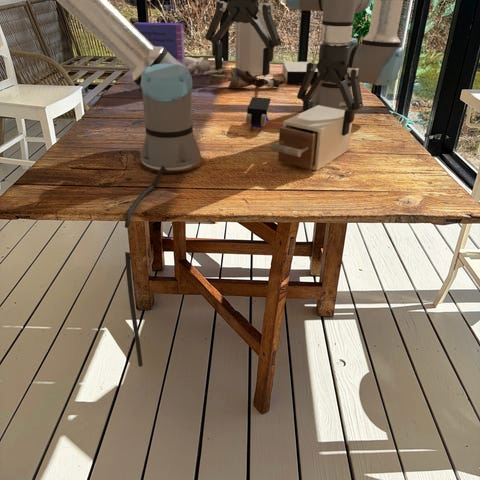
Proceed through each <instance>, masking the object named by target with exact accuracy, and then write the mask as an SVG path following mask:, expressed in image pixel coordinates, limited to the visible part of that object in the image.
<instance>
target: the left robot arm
mask: <svg viewBox="0 0 480 480" xmlns="http://www.w3.org/2000/svg"><path fill="white" fill-rule="evenodd" d="M56 1H57V3H58V4H60V5H61V7H63V8H64V9H65V10H66V11H67V12H68V13H69V14H70V15H71V16H72V17H73V18H74V19H76V21H78V22H79V23H80V24H81V25H82V26H83V27H84V28H85V29H86V30H87V31H88V32H89V33H90V34H92V36H93V37H95V38H96V39H97V40H98V41H99V42H100V43H101V45H103V46H104V47H105V48H106V49H107V50H108V51H109V52H111V54H113V56H115V58H117V59H118V60H119V61H120V62H121V63H122V64H123V65H124V66H125V67H126V68H128V70H129V71H131V73H132V75H131V76H132V81H133V82H134V83H135V84H136V85H137V86H138V87H139V89H140V88H141V89H142V90H141V92H142V103H143V115H144V125H145V126H144V127H145V138H144V142H143V146H142V150H141V154H140V162H141V166H142V168H144V169H145V170H146V171H149V172H151V173H156V176H155V177H154V179H153V182H152V183H151V184H150V185H149V186H148V187H147V188H146V189H145V190H144V191H142V192H141V193H140V194H139V196H138V197H136V198H135V200H134V201H133V203H132V204H131V206H130V207H129V209H128V210H127V212H126V215H125V220H124V228H125V229H128V228H130V226H131V219H132V215H133V213H134V212H135V210H136V208H137V207H138V205H139V204H140V202H141V201H142V200H143V199H144V198H145V197H146V196H147V195H149V194H150V193H151V192H152V191H153V190H154V189H156V186H157V185H158V183H159V181H160V179H161V178H162V175H164V174H165V175H169V174H170V175H172V174H173V175H175V174H182V173H187V172H190V171H193V170H195V169H197V168H198V167H199V166H201V163H202V155H201V151H200V149H199V146H198V143H197V141H196V137H195V135H194V130H193V129H194V126H193V101H192V100H193V99H192V98H193V97H192V95H193V85H194V84H193V78H192V77H193V76H192V73H191V72H189V70H188V68H187V67H186V66H185V65H184V64H183V63H182V62H181V61H179V60H177V59H175V58H174V57H173V56H172V55H171V54H170V53H169V52H168V51H167V50H166V49H165V48H163V47H156V46H153V45H152V44H151V43H150V42H149V41H148V40H147V39H146V38H145V37H144V36H143V35H142V34H141V33H140V32H139V31H138V30H137V29H136V28H135V27H134V24H132V22H130V20H128V19H127V18H126V17H125V16H124V15H123V14H122V13H121V12H120V11H119V10H118V9H117V8H116V7H115V6H114V5H113V4H112V3H111V2H110V1H109V0H56ZM259 3H260V2H259V0H227V2H225V1H224V0H220V1H219V0H218V1H217V2H216V3H215V12H214V14H213V16H212V19H211V21H210V24H209V27H208V29H207V31H206V34H205V36H204V39H205V40H206V41H209V42H211V53H212V54H211V55H212V56H213V57H214V65H215V70H214V71H217V70H219V69H222V70H223V42H221V39H222V38H223V37H224V36H225V34H226V33H227V32H228V30H229V29H230V27H231V26H233V24H234V23H235V24H236V23H239V22H242V23H250V24H251V25H252V26H253V27H254V29H255V30H256V32H257V33H258V35H259V36H260V38H261V39H262V41H263V42H264V44H265V45H266V48H264V49H263V72H262V74H261V75H262V76H264V77H266V76H268V75H269V74H270V73H269V62H270V63H271V62H273V60H274V49H275V48H276V47H278V46H281V44H282V41H281V38H280V35H279V31H278V29H277V27H276V24H275V21H274V19H273V18H274V17H273V14H272V15H271V6H270V4H271V3H268V4H264V5H259ZM259 10H260V12H261V14H263V18H264V21H265V23H266V26H267V29H268V31H269V34H270V36H269V35H268V33H267V32H266V30H265V29H264V27H263V26H262V24H261V22H260V19H259V18H258V16H257V15H256V14H257V13H258V11H259ZM225 11H227V12H228V13H229V14H228V15H227V17H226V18H225V21H224V22H223V23H222V25H221V26H220V27H219V25H220V23H221V20H222V18H223V16H224V14H225ZM270 37H271V38H270ZM124 255H125V257H124V258H125V271H126V283H127V292H128V300H129V308H130V315H131V322H132V327H133V329H132V330H133V337H134V342H135V343H134V344H135V350H136V357H137V364H138V367H140V368H141V367H143V365H144V364H143V355H142V348H141V347H142V346H141V340H140V333H139V326H138V319H137V312H136V304H135V297H134V295H135V294H134V288H133V287H134V285H133V276H132V261H131V252H128V251H124Z"/></svg>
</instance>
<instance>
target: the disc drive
mask: <svg viewBox="0 0 480 480" xmlns="http://www.w3.org/2000/svg"><path fill="white" fill-rule="evenodd" d="M310 62H311V61H282V69H281V71H282V74H283V76H284V80H286V84H287V85H301V84H302V82H303V79H304V76H305V74H306V68H307V63H310ZM314 62H315V63H318V62H319V61H314ZM317 76H318V69H316V71H314V75H313V77H312V80H311V82H310V85H313V84H314V82H315V81H316V79H317Z"/></svg>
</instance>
